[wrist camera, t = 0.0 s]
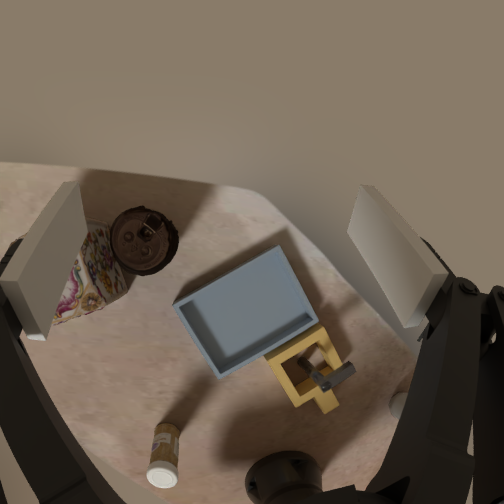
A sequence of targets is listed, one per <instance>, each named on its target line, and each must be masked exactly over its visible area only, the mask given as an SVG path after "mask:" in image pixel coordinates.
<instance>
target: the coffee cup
mask: <svg viewBox="0 0 504 504" xmlns="http://www.w3.org/2000/svg"><path fill="white" fill-rule="evenodd" d="M109 241H110V248H111V251H112V253H113V257H114V258H115V260H116V262H117V263H118V265H119V266H120V267H122V268H123V269H124V270H125V271H126V272H128V273H130V274H136V275H140V276H145V275H152V274H155V273H157V272H159V271H160V270H162V269H163V268H164V267H165V266H166V265H167V264H168V263H170V262H171V260H172V259H173V257H174V256H175V254H176V252H177V249H178V243H179V237H178V231H177V230H176V229H175V227H174V225H173V224H172V221H169V220H168V219H167V218H166V217H165V216H164V215H163V214H161V213H159V212H156V211H153V210H150V209H146V208H145V207H144V206H139V207H135V208H130V209H128V210H126V211H124V212H122V213H121V214H120V215H119V216H118V217H117V218H116V219H115V221H114V223H113V225H112V227H111V229H110V238H109Z"/></svg>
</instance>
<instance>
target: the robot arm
mask: <svg viewBox="0 0 504 504" xmlns="http://www.w3.org/2000/svg"><path fill="white" fill-rule="evenodd" d="M87 233H88V230H87V225H86V220H85V215H84V210H83V204H82V199H81V193H80V187H79V181H73V182H64V183H63V184H62V185H61V187H60V188H59V189H58V191H57V192H56V193H55V195H54V196H53V197H52V199H51V200H50V201H49V203H48V204H47V205H46V207H45V208H44V210H43V211H42V212H41V214H40V215H39V217H38V218H37V219H36V221H35V222H34V224H33V225H32V227H31V228H30V230H29V231H28V233H27V234H26V236H25V237H24V238H20V239H18V240H17V241H16V242H15V243H13V244H12V245H11V246H10V247H9V249H8V250H7V252H6V254H5V257H3V258H2V260H1V262H0V427H1V429H2V431H3V433H4V436H5V438H6V440H7V442H8V444H9V446H10V449H11V451H12V453H13V455H14V457H15V459H16V461H17V463H18V464H19V466H20V468H21V470H22V472H23V474H24V475H25V477H26V479H27V481H28V483H29V484H30V486H31V488H32V490H33V491H34V492H35V494H36V496H37V498H38V500H39V503H40V504H126V503H125V502H124V501H123V500H122V499H121V498H120V497H119V496H118V494H117V493H116V492H115V491H114V490H113V489H112V487H111V486H110V485H109V484H108V482H107V481H106V480H105V479H104V478H103V476H102V475H101V473H100V472H99V471H98V470H97V468H96V467H95V466H94V464H93V463H92V462H91V460H90V459H89V457H88V456H87V455H86V453H85V452H84V450H83V449H82V447H81V446H80V445H79V443H78V442H77V440H76V439H75V437H74V436H73V434H72V433H71V431H70V429H69V428H68V426H67V425H66V423H65V422H64V420H63V418H62V417H61V415H60V413H59V412H58V410H57V408H56V407H55V405H54V403H53V401H52V400H51V398H50V396H49V394H48V393H47V391H46V389H45V387H44V385H43V383H42V381H41V380H40V378H39V376H38V374H37V372H36V370H35V368H34V366H33V364H32V362H31V360H30V357H29V355H28V353H27V351H26V349H25V347H24V344H23V342H22V341H21V339H20V337H19V336H20V334H21V331H22V328H23V330H24V332H25V333H26V335H27V337H28V339H33V340H44V341H46V339H47V336H48V333H49V330H50V327H51V324H52V321H53V318H54V315H55V312H56V309H57V307H58V304H59V301H60V298H61V296H62V293H63V290H64V288H65V285H66V283H67V280H68V278H69V275H70V273H71V270H72V268H73V265H74V263H75V261H76V258H77V256H78V253H79V251H80V249H81V247H82V244H83V242H84V240H85V238H86V236H87ZM347 233H348V234H349V236H350V237H351V239H352V240H353V242H354V244H355V245H356V247H357V249H358V250H359V252H360V253H361V255H362V257H363V258H364V260H365V261H366V263H367V265H368V266H369V268H370V270H371V271H372V273H373V275H374V276H375V278H376V280H377V282H378V283H379V285H380V287H381V288H382V290H383V292H384V293H385V295H386V297H387V299H388V300H389V302H390V304H391V306H392V308H393V309H394V311H395V313H396V315H397V316H398V318H399V320H400V322H401V324H402V326H403V327H404V328H410V327H416V326H419V325H420V323H421V321H422V320H423V318H424V316H425V315H426V317H427V318H428V320H429V323H428V325H427V326H426V328H425V329H424V331H423V332H422V334H421V336H420V337H419V339H418V340H417V341H420V340H421V339H422V338H423V341H422V345H421V349H420V353H419V357H418V361H417V364H416V368H415V372H414V375H413V379H412V382H411V385H410V389H409V392H408V395H407V398H406V401H405V405H404V408H403V411H402V413H401V416H400V419H399V422H398V425H397V428H396V430H395V433H394V436H393V438H392V441H391V444H390V446H389V449H388V451H387V454H386V456H385V459H384V461H383V463H382V466H381V468H380V470H379V471H378V473H377V474H376V475H375V477H374V478H373V479H372V480H371V482H370V483H369V485H368V486H367V488H366V490H365V491H358V490H356V489H355V485H354V484H353V485H350V486H346V487H342V488H338V489H334V490H330V491H325V492H323V491H322V474H321V470H320V468H319V466H318V464H317V463H316V461H315V460H314V459H313V458H312V457H311V456H310V455H308V454H306V453H303V452H298V451H284V452H279V453H275V454H272V455H269V456H267V457H265V458H263V459H261V460H260V461H258V462H257V463H256V464H255V465H254V466H253V467H252V468H251V469H250V470H249V471H248V473H247V475H246V478H245V488H246V491H247V495H248V497H249V498H250V500H251V501H252V502H253V503H254V504H465V503H466V500H467V496H468V493H469V489H470V485H471V481H472V477H473V504H504V288H503V287H501V286H494V287H493V288H492V290H491V292H490V293H489V294H484V293H480V291H479V289H478V288H477V286H476V285H474V284H473V283H472V282H471V281H469V280H468V279H465V278H462V277H457V278H456V276H455V275H454V274H453V272H452V271H451V270H450V269H449V267H448V266H447V265H446V264H445V262H444V261H443V260H442V259H440V256H439V255H438V254H437V253H435V250H434V249H433V248H432V246H431V245H430V244H429V243H428V242H426V241H425V240H424V239H422V238H421V237H419V236H418V235H417V233H416V232H415V231H414V230H413V229H412V228H411V226H410V225H409V224H408V223H407V222H406V221H405V220H404V219H403V218H402V216H401V215H400V214H399V213H398V212H397V211H396V210H395V208H394V207H392V205H391V204H390V203H389V202H388V201H387V200H386V199H385V198H384V197H383V195H381V193H380V192H379V191H378V190H377V189H376V188H375V187H374V186H368V185H360V187H359V191H358V195H357V199H356V202H355V206H354V210H353V213H352V217H351V220H350V224H349V227H348V230H347ZM495 333H496V340H495V342H494V343H492V340H491V338H492V337H493V335H494V334H495ZM472 420H473V440H474V441H473V444H474V456H472V455H469V454H468V453H467V446H468V442H469V436H470V431H471V425H472ZM0 504H7V500H6V497H5V494H4V491H3V487H2V484H1V481H0Z"/></svg>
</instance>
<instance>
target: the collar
mask: <svg viewBox="0 0 504 504" xmlns="http://www.w3.org/2000/svg"><path fill="white" fill-rule="evenodd" d="M315 342H316V344H317V345H318V347H319V349H320V351H321V353H322V355H323V357H324V359H325V361H326V363H327V365H328V366H327V367H325V368H324V369H322V370H321V371H319V372H320V373H321V374H322V375H323V376H324V377H325V376H326V375H328V374H329V373H331V372H333V371H334V370H336V369H337V368H339V367H340V366H342V365H343V364H342V362H341V360H340V358H339V356H338V354H337V352H336V350H335V348H334V346H333V344H332V342H331V340H330V338H329V336H328V334H327V332H326V330H325V328H324V327H323V326H322V325H320V324H318V323H316V324H314V325H312V326H311V327H309V328H308V329H306V330H304V331H303V332H301V333H300V334H298V335H296V336H295V337H293V338H291V339H290V340H288V341H286V342H285V343H283V344H281V345H280V346H278V347H276V348H275V349H273V350H271V351H269V352H268V353H266V354H264V357H265V359H266V360H267V362H268V364H269V365H270V367H271V369H272V370H273V372H274V374H275V375H276V377H277V379H278V380H279V382H280V383H281V385H282V387H283V388H284V390H285V392H286V393H287V395H288V396H289V398H290V400H291V401H292V403H293V404H294V406H295V407H296V408H297V407H298V406H300V405H302V404H303V403H305V402H307V401H308V400H310V399H312V398H313V399H314V400H315V402H316V404H317V405H318V406H319V408H320V409H321V410H322V411H323V413H324V414H326V413H328V412H330V411H331V410H333V409H334V408H336V407H337V406H339V403H338V401H337V399H336V397H335V395H334V394H333V392H332V390H331V389H330V390H329V391H327V392H325V393H323V392H322V391H321V390H320V388H319V386H318V385H317V384H316V383H315V382H314V381H313V380H312V379H311V377H309V378H308V379H306V380H305V381H303V382H301V383H300V384H298V385H296V386H295V387H294V386H293V384H292V383H291V381H290V379H289V378H288V376H287V374H286V373H285V371H284V369H283V368H282V366H281V363H282V362H284V361H286V360H287V359H289V358H291V357H292V356H294V355H296V354H297V353H299V352H301V351H302V350H304V349H305V348H307V347H309V346H310V345H312V344H313V343H315Z"/></svg>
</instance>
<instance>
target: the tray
mask: <svg viewBox="0 0 504 504" xmlns="http://www.w3.org/2000/svg"><path fill="white" fill-rule="evenodd" d="M172 306H173V308H174V310H175V311H176V313H177V315H178V316H179V318H180V320H181V321H182V323H183V325H184V326H185V328H186V329H187V331H188V333H189V334H190V336H191V338H192V339H193V341H194V342H195V344H196V346H197V347H198V349H199V350H200V352H201V353H202V355H203V357H204V358H205V360H206V361H207V363H208V364H209V366H210V367H211V369H212V370H213V372H214V373H215V375H216V376H217V378H218V379H221V378H223V377H225V376H227V375H229V374H231V373H232V372H234V371H236V370H238V369H240V368H241V367H243V366H245V365H247V364H249V363H250V362H252V361H254V360H256V359H257V358H259V357H261V356H263V355H264V354H266V353H268V352H269V351H271V350H273V349H275V348H276V347H278V346H280V345H281V344H283V343H285V342H286V341H288V340H290V339H291V338H293V337H295V336H296V335H298V334H300V333H301V332H303V331H304V330H306V329H308V328H309V327H311V326H312V325H314V324H316V323H317V322H319V320H318V318H317V316H316V314H315V312H314V310H313V308H312V306H311V304H310V302H309V300H308V298H307V297H306V295H305V293H304V291H303V289H302V287H301V285H300V283H299V281H298V279H297V277H296V275H295V274H294V272H293V270H292V268H291V266H290V264H289V262H288V260H287V258H286V256H285V255H284V253H283V251H282V249H281V247H280V245H274V246H272V247H270V248H268V249H266V250H265V251H263V252H261V253H259V254H258V255H256V256H254V257H252V258H251V259H249V260H247V261H245V262H243V263H242V264H240V265H238V266H236V267H235V268H233V269H231V270H229V271H227V272H226V273H224V274H222V275H220V276H219V277H217V278H215V279H213V280H211V281H210V282H208V283H206V284H204V285H203V286H201V287H199V288H197V289H195V290H194V291H192V292H190V293H188V294H187V295H185V296H183V297H181V298H179V299H178V300H176V301H174V302H173V304H172Z"/></svg>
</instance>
